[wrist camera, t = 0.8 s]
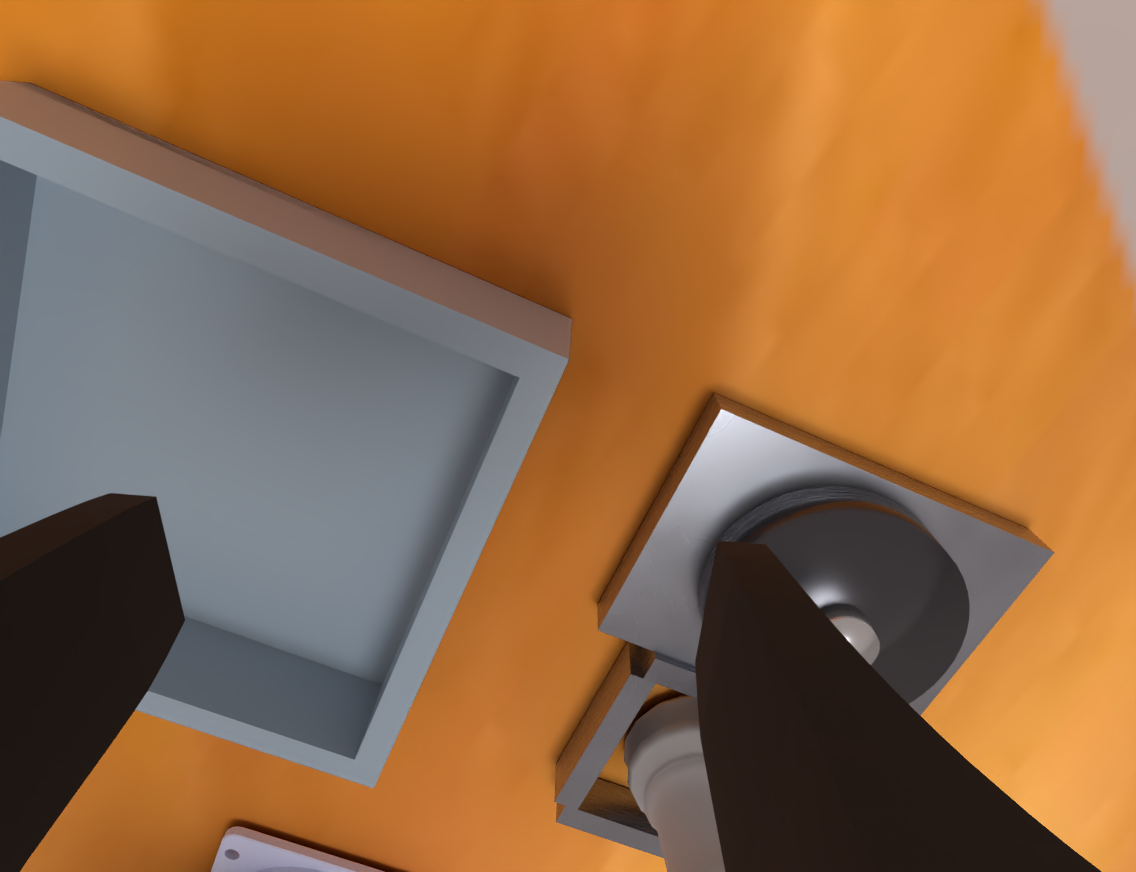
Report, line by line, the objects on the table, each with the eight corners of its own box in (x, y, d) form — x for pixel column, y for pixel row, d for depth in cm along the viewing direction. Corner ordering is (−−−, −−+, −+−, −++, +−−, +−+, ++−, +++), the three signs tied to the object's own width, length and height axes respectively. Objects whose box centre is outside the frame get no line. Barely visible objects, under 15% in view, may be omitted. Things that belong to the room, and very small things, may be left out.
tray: (402, 698, 24) (373, 788, 20) (-30, 547, 22) (-137, 620, 19) (572, 319, 19) (569, 359, 15) (30, 82, 17) (-102, 73, 14)
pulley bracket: (770, 856, 26) (796, 962, 23) (508, 766, 25) (496, 865, 21) (1029, 529, 21) (1113, 606, 17) (713, 392, 19) (739, 448, 16)
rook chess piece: (611, 696, 23) (622, 958, 16) (751, 677, 23) (829, 937, 16) (634, 797, 25) (653, 1075, 18) (765, 781, 25) (841, 1059, 17)
